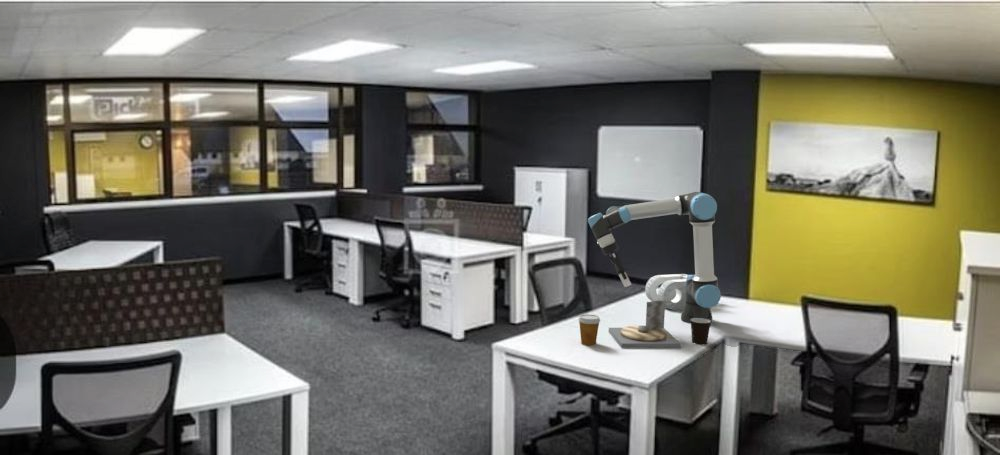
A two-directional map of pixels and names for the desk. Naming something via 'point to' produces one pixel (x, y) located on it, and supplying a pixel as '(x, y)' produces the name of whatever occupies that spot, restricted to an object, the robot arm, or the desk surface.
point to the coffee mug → (700, 330)
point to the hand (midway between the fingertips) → (627, 285)
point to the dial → (649, 324)
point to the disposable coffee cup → (588, 328)
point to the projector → (668, 290)
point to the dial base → (631, 343)
